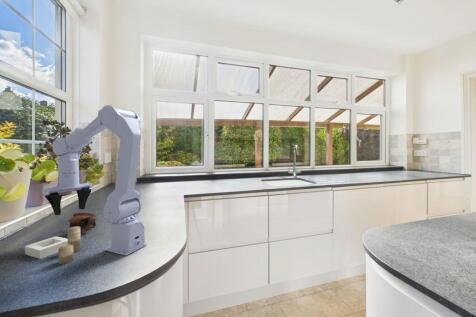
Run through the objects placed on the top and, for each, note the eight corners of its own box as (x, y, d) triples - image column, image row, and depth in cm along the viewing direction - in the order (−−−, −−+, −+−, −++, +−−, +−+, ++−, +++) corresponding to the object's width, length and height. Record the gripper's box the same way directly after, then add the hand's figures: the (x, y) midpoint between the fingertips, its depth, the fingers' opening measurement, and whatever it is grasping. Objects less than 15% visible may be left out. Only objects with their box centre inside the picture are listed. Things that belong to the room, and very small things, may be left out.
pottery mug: (58, 236, 79) (65, 214, 83) (83, 239, 87) (89, 218, 91) (79, 231, 75) (85, 208, 79) (104, 235, 82) (108, 213, 86)
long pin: (83, 249, 67) (82, 227, 66) (72, 253, 64) (71, 230, 64) (76, 247, 68) (76, 225, 68) (65, 251, 65) (64, 229, 65)
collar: (71, 247, 68) (70, 239, 68) (40, 259, 61) (39, 250, 61) (56, 243, 71) (56, 236, 71) (25, 254, 64) (24, 246, 64)
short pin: (76, 259, 60) (75, 245, 60) (63, 265, 57) (62, 250, 57) (69, 257, 61) (68, 244, 61) (56, 262, 58) (55, 248, 58)
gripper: (83, 171, 82) (84, 206, 83) (36, 175, 69) (38, 216, 69) (95, 171, 79) (96, 207, 80) (48, 175, 66) (50, 218, 66)
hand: (70, 211), depth 74 cm, fingers open, 7 cm apart
